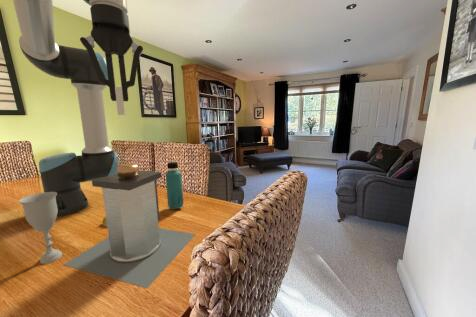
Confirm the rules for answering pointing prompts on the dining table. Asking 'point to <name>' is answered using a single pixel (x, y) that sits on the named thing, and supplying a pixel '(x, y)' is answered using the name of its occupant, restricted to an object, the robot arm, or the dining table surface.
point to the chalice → (42, 219)
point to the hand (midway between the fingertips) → (121, 114)
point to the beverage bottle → (174, 186)
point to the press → (131, 215)
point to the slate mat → (135, 272)
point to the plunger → (127, 170)
